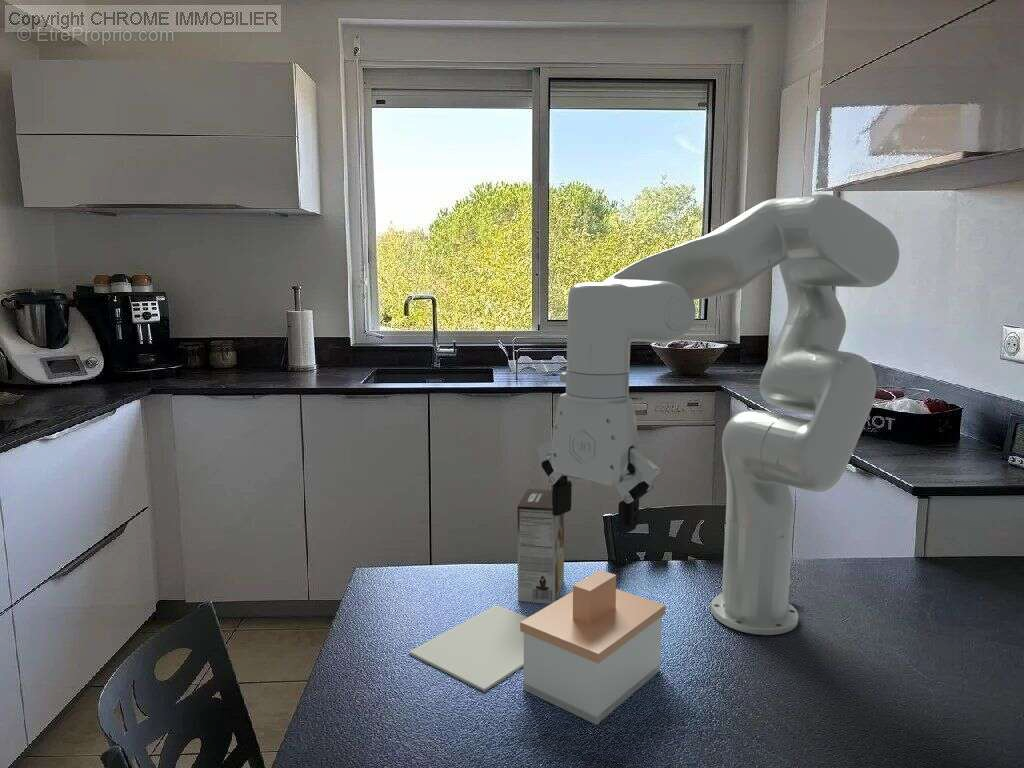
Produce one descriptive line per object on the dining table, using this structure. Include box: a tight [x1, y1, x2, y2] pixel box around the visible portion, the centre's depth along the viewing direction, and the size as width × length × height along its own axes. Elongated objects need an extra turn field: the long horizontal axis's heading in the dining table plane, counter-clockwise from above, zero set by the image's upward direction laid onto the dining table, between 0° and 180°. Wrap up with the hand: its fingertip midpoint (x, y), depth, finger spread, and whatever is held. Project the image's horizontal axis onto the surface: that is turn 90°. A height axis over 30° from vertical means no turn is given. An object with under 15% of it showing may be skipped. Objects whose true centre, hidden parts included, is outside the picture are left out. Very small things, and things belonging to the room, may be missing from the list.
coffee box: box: [517, 488, 565, 605], centre depth 119 cm, size 9×6×16 cm
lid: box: [520, 569, 666, 664], centre depth 93 cm, size 16×12×7 cm
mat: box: [408, 604, 529, 693], centre depth 103 cm, size 18×14×1 cm
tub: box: [523, 616, 663, 726], centre depth 94 cm, size 15×11×8 cm
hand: (593, 522), depth 91 cm, fingers open, 9 cm apart
